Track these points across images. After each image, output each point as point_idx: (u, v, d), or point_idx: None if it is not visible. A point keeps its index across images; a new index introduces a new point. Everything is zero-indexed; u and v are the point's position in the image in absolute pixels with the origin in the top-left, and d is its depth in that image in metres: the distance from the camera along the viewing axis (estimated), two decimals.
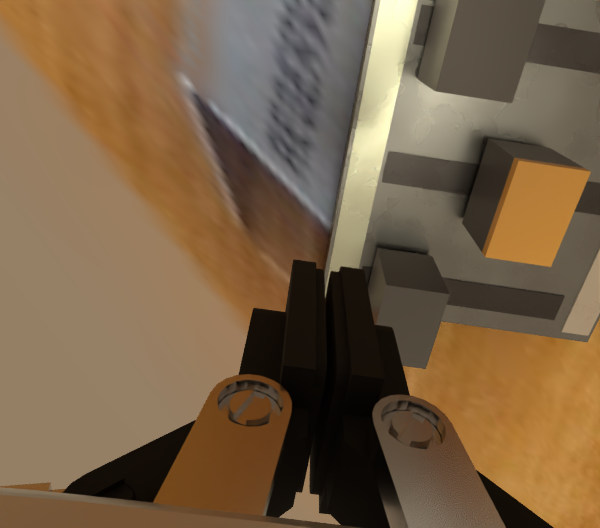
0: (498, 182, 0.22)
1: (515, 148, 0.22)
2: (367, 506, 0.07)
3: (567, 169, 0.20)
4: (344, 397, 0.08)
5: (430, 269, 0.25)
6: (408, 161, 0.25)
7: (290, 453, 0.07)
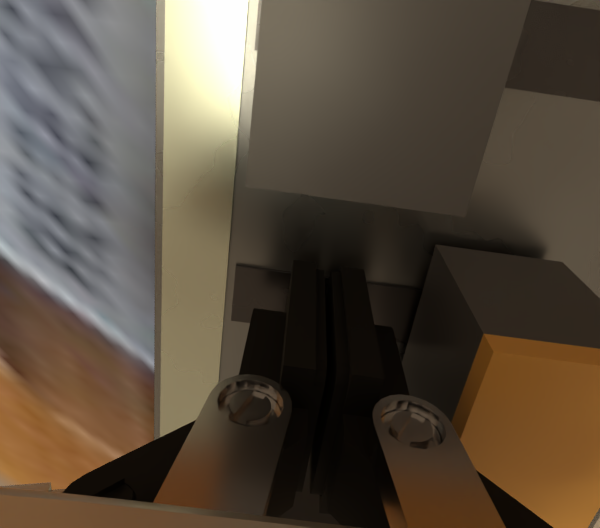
0: (450, 368, 0.09)
1: (489, 280, 0.10)
2: (367, 506, 0.07)
3: None
4: (344, 397, 0.08)
5: None
6: (278, 282, 0.12)
7: (290, 453, 0.07)
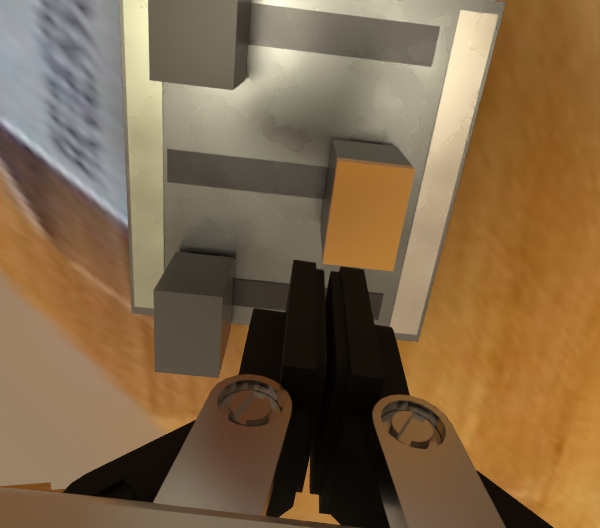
0: (331, 184, 0.20)
1: (352, 148, 0.21)
2: (366, 507, 0.07)
3: (390, 168, 0.19)
4: (344, 397, 0.08)
5: (220, 271, 0.24)
6: (190, 158, 0.23)
7: (290, 453, 0.07)
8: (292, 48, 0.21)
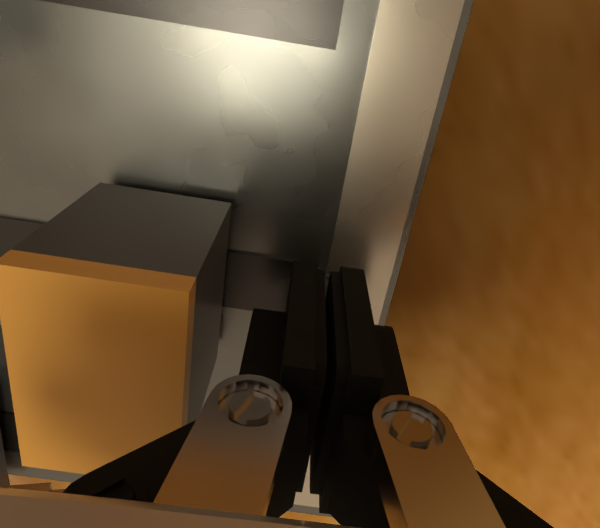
0: None
1: (108, 211, 0.10)
2: (367, 506, 0.07)
3: (127, 286, 0.08)
4: (344, 397, 0.08)
5: None
6: None
7: (290, 453, 0.07)
8: None
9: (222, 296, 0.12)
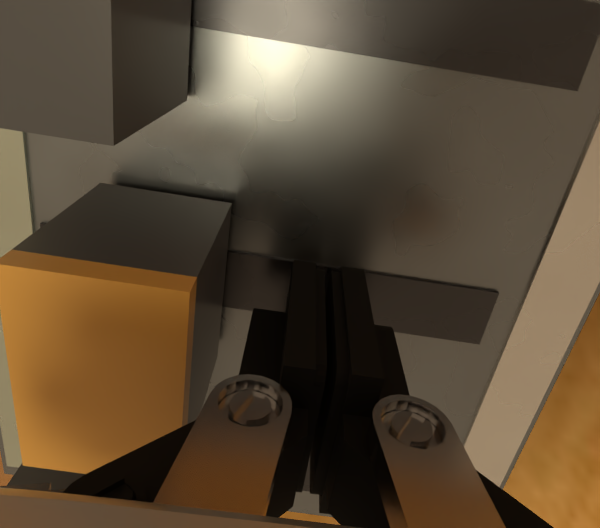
0: None
1: (109, 212, 0.10)
2: (367, 506, 0.07)
3: (127, 286, 0.08)
4: (344, 397, 0.08)
5: None
6: None
7: (290, 453, 0.07)
8: (287, 39, 0.10)
9: (222, 296, 0.12)
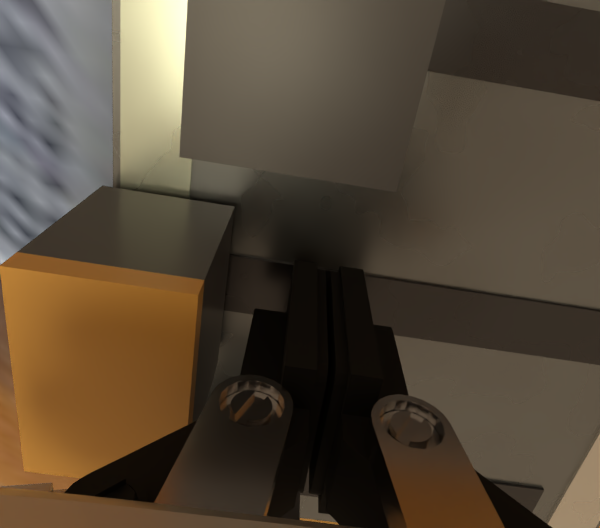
0: None
1: (113, 214, 0.10)
2: (365, 507, 0.07)
3: (135, 288, 0.08)
4: (343, 397, 0.08)
5: None
6: (236, 267, 0.12)
7: (292, 454, 0.07)
8: (468, 74, 0.10)
9: (224, 300, 0.12)
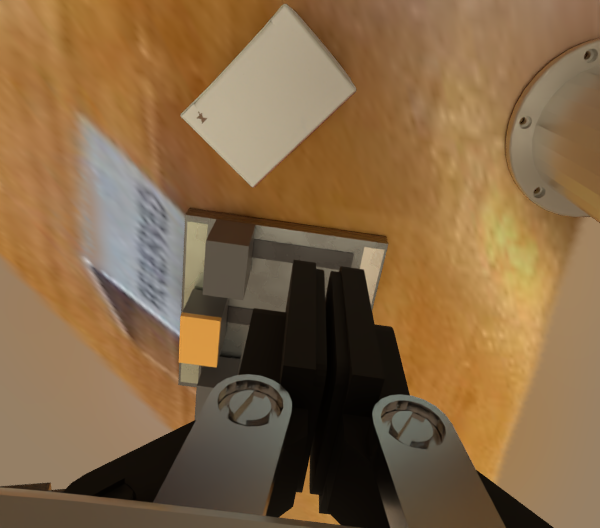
0: None
1: (198, 299, 0.39)
2: (367, 507, 0.07)
3: (207, 320, 0.37)
4: (344, 397, 0.08)
5: (232, 371, 0.42)
6: None
7: (290, 453, 0.07)
8: (275, 259, 0.40)
9: (226, 319, 0.42)
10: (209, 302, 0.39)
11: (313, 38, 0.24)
